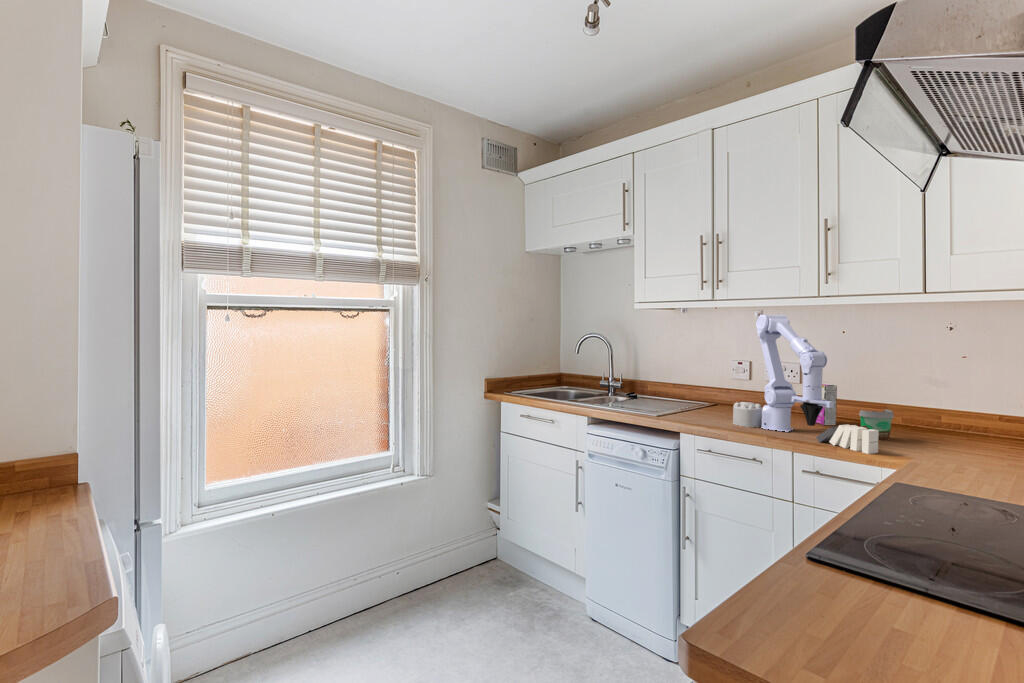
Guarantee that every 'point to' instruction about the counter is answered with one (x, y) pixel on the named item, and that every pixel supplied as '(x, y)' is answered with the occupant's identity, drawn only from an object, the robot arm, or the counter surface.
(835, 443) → the domino
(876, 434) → the domino
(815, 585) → the counter surface
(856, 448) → the domino
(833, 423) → the candy bar box
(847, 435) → the domino
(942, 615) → the counter surface
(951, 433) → the counter surface
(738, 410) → the lumpy-topped squat cylinder
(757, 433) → the counter surface
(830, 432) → the black domino
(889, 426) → the food container
